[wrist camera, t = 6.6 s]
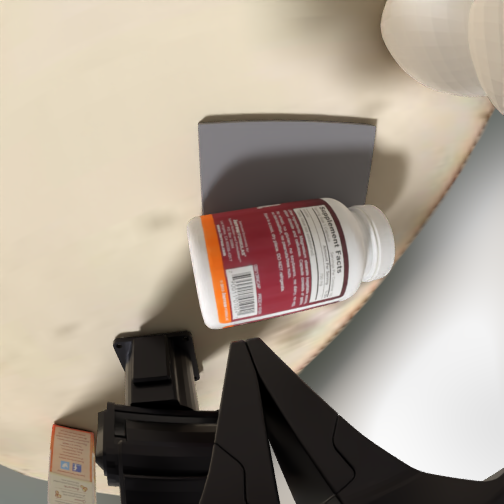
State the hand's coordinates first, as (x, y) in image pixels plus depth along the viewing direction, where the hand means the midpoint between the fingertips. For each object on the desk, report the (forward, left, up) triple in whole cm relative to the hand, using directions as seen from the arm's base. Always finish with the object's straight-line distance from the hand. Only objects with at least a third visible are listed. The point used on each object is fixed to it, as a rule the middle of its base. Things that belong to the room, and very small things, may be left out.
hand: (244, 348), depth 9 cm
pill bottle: (-3, +1, -8) cm, 9 cm away
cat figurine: (+13, -15, -12) cm, 23 cm away
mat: (-1, -5, -12) cm, 13 cm away
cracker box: (-33, +22, -12) cm, 41 cm away
